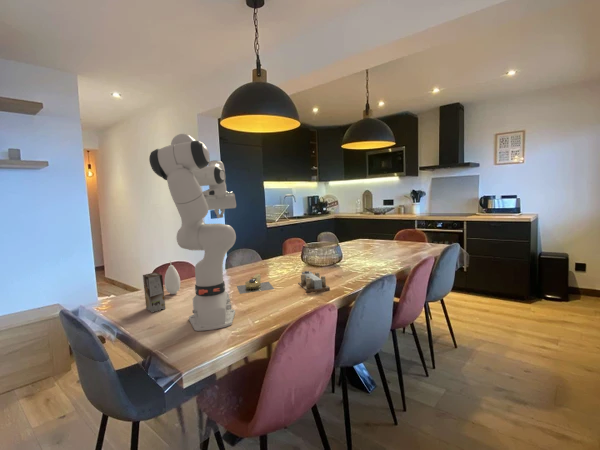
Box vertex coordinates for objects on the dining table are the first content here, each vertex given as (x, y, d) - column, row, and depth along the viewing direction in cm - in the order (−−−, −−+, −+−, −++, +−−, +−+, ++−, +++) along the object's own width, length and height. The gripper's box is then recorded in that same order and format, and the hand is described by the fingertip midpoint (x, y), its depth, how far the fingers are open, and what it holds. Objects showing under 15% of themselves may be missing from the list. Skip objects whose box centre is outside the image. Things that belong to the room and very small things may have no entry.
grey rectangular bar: (323, 288, 163) (323, 278, 162) (313, 289, 161) (312, 279, 161) (310, 278, 183) (310, 269, 182) (301, 280, 181) (300, 271, 181)
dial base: (274, 290, 168) (274, 288, 168) (239, 295, 163) (239, 293, 163) (268, 283, 183) (268, 281, 183) (236, 287, 178) (236, 285, 178)
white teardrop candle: (166, 292, 176) (163, 260, 174) (181, 291, 178) (178, 258, 176) (164, 297, 168) (161, 262, 166) (180, 294, 170) (177, 261, 169)
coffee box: (166, 308, 149) (162, 274, 147) (151, 312, 145) (148, 277, 143) (159, 304, 156) (156, 272, 154) (145, 308, 151) (142, 274, 150)
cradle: (329, 290, 164) (329, 277, 163) (307, 293, 161) (306, 280, 160) (319, 282, 179) (318, 271, 179) (298, 285, 176) (297, 273, 175)
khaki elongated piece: (258, 289, 168) (258, 281, 168) (243, 289, 169) (243, 281, 169) (265, 280, 185) (265, 273, 185) (251, 280, 186) (251, 274, 186)
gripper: (231, 191, 182) (232, 216, 183) (197, 192, 167) (200, 219, 168) (237, 191, 177) (239, 216, 179) (204, 192, 163) (206, 219, 164)
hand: (220, 217), depth 173 cm, fingers closed
